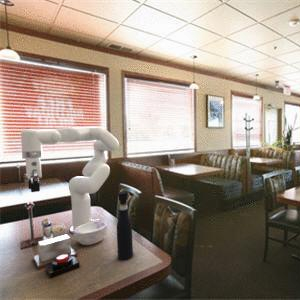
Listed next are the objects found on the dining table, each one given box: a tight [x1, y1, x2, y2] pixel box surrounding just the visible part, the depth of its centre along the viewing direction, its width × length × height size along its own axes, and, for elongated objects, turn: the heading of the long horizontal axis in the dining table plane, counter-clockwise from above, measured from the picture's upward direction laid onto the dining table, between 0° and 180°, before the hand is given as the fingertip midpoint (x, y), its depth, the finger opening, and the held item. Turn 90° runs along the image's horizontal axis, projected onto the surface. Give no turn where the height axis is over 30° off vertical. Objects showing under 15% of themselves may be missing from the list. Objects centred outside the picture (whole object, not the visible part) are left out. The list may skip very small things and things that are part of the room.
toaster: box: [37, 234, 72, 262], centre depth 106 cm, size 11×6×7 cm, turn 137°
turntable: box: [32, 247, 78, 270], centre depth 106 cm, size 14×12×2 cm
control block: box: [45, 256, 80, 279], centre depth 98 cm, size 10×8×4 cm
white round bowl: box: [73, 221, 108, 246], centre depth 123 cm, size 15×15×8 cm
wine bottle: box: [116, 191, 134, 261], centre depth 106 cm, size 6×6×30 cm
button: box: [56, 254, 68, 263], centre depth 97 cm, size 4×4×2 cm
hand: (34, 190), depth 114 cm, fingers open, 9 cm apart
